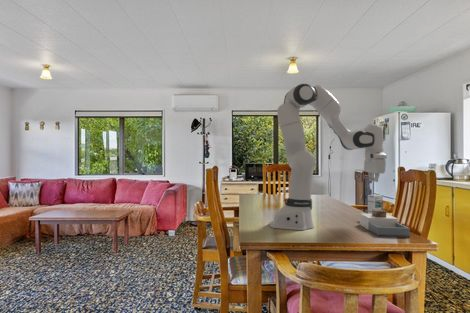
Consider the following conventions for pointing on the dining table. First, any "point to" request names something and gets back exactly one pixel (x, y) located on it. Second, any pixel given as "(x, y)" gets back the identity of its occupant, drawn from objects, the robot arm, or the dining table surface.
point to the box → (389, 230)
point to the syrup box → (375, 203)
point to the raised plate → (377, 220)
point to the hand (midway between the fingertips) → (373, 181)
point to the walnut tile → (378, 213)
